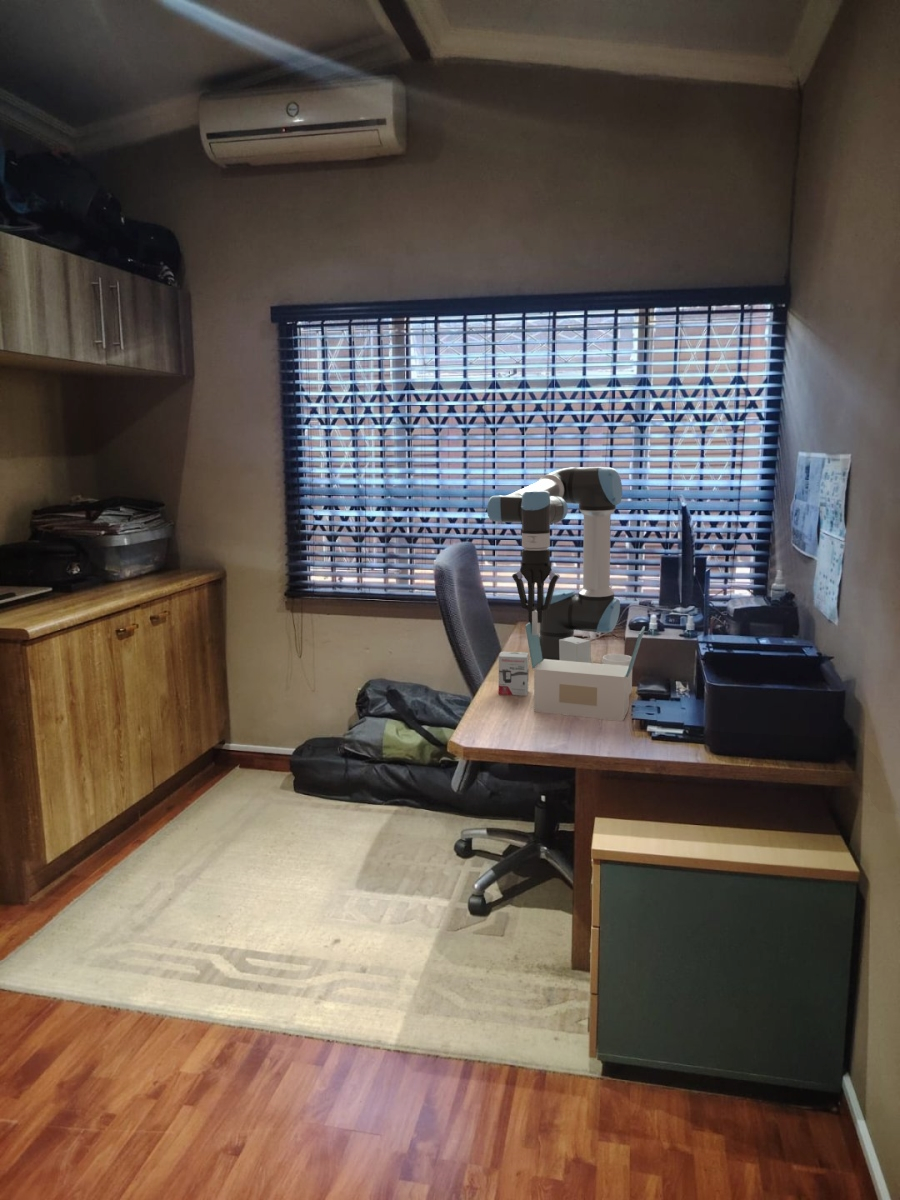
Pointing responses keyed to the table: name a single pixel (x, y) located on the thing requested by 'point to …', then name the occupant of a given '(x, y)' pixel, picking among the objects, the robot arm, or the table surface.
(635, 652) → the flap
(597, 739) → the table surface
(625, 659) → the mug
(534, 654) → the flap
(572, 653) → the skincare box
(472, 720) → the table surface
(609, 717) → the carton
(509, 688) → the ink box
